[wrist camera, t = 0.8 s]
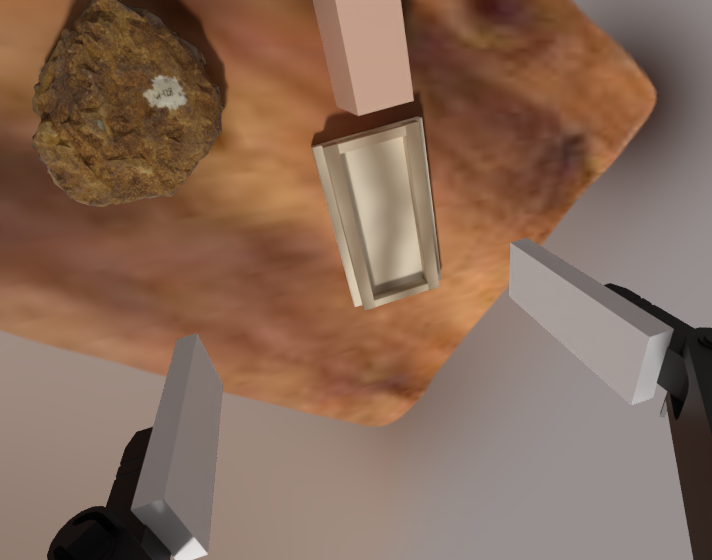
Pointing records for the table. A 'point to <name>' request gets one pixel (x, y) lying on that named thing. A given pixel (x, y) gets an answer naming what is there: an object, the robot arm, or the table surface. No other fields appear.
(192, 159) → the decorative rock
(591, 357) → the robot arm
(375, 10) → the clay block
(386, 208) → the cream rectangular tray
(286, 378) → the table surface
